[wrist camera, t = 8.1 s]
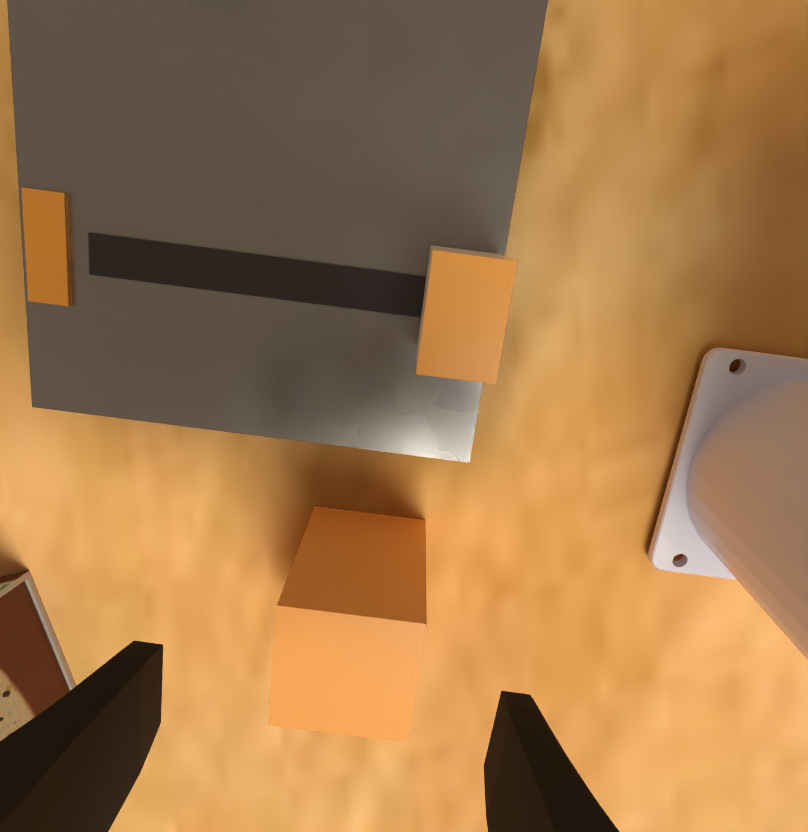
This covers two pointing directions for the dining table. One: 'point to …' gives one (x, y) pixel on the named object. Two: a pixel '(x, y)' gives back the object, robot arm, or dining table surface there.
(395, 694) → the block
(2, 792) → the robot arm
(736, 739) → the dining table surface
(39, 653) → the food container
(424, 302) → the block
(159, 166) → the panel
